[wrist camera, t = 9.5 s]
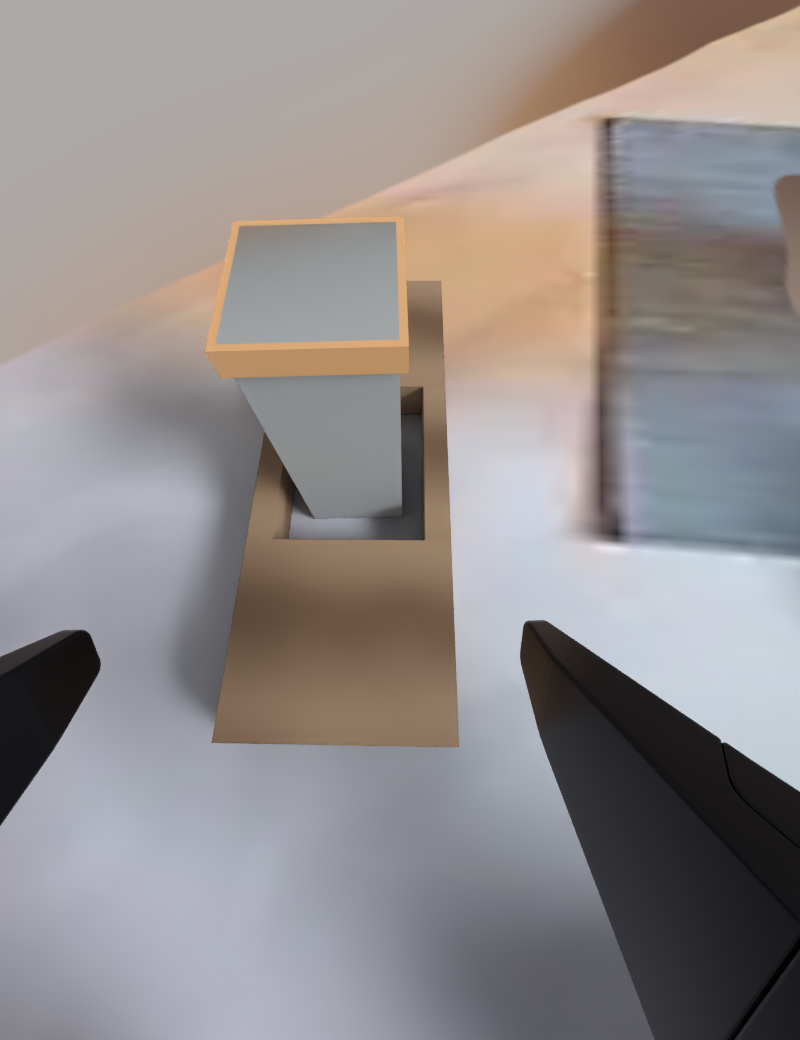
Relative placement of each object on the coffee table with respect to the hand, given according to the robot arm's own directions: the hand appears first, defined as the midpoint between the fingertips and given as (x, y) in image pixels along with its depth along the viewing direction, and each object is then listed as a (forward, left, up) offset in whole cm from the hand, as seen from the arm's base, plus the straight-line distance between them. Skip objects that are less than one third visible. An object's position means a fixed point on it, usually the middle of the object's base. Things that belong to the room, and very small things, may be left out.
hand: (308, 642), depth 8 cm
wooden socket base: (+8, 0, -8) cm, 11 cm away
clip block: (+8, 0, -8) cm, 11 cm away
